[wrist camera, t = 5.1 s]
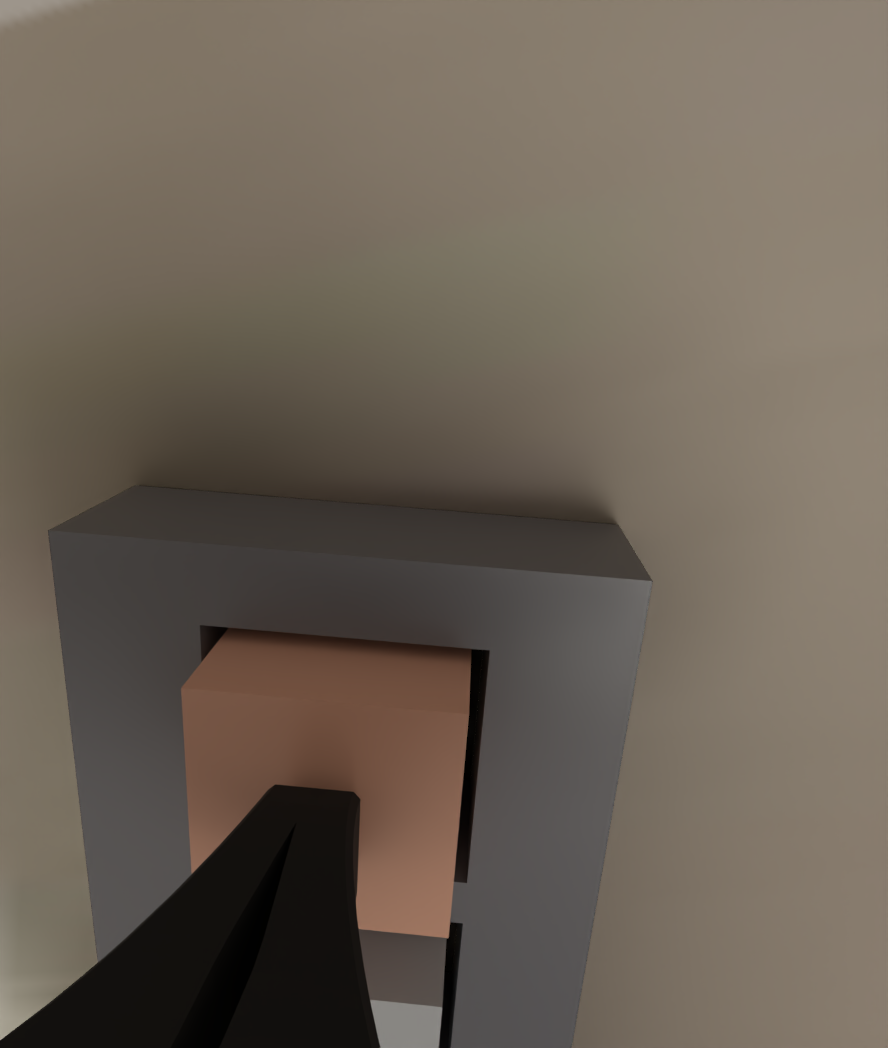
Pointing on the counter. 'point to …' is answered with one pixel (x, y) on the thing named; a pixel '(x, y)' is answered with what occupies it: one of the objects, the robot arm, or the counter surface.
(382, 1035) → the grey key
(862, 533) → the counter surface
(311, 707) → the terracotta key
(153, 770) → the grey slotted base
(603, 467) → the counter surface
